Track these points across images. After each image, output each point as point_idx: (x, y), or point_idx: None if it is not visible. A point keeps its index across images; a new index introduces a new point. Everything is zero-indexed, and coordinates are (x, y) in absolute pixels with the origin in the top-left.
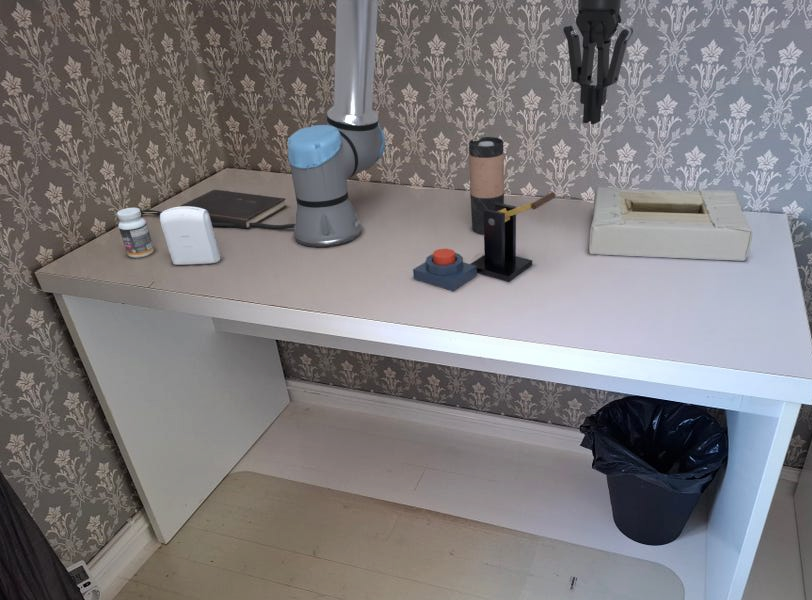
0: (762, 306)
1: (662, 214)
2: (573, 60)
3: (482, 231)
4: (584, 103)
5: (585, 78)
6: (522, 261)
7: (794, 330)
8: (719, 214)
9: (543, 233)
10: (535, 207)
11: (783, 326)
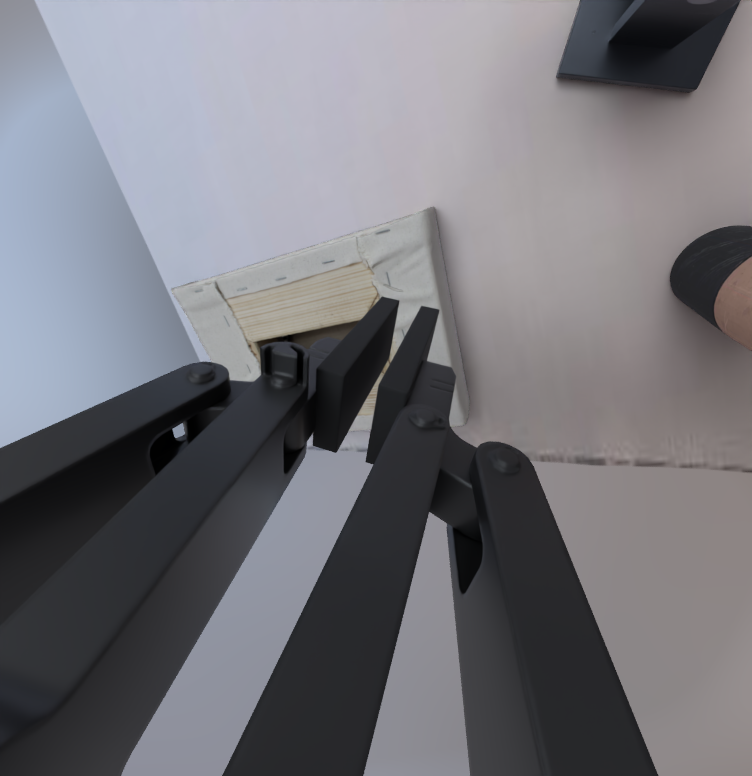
0: (126, 112)
1: (310, 318)
2: (546, 646)
3: (737, 226)
4: (421, 345)
5: (392, 437)
6: (586, 46)
7: (58, 36)
8: (232, 342)
9: (557, 285)
10: None
11: (74, 43)
